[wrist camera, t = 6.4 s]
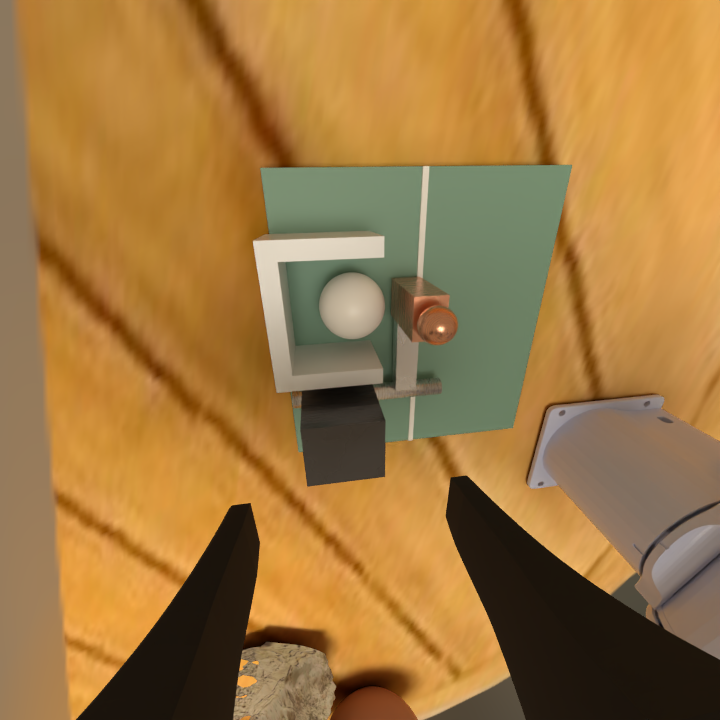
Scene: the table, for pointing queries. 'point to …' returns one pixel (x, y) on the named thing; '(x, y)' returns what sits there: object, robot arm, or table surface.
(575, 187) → the table surface
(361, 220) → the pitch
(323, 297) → the ball
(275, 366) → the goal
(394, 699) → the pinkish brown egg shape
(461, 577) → the table surface
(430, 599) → the table surface
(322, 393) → the knob lever
